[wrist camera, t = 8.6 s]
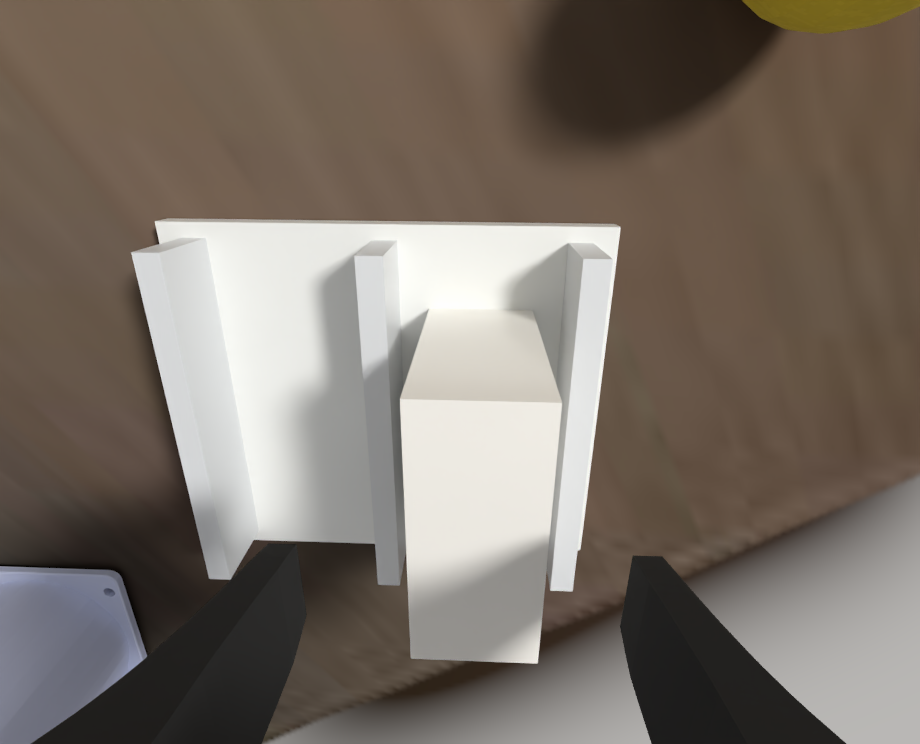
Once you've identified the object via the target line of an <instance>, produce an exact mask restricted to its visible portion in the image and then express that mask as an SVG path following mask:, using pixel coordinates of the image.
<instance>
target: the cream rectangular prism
mask: <svg viewBox="0 0 920 744" xmlns="http://www.w3.org/2000/svg"><path fill="white" fill-rule="evenodd" d="M561 411H562V400H561V397H560V394H559V391H558V388H557V385H556V382H555V379H554V376H553V372H552V369H551V366H550V363H549V360H548V357H547V354H546V351H545V347H544V344H543V341H542V338H541V335H540V332H539V329H538V326H537V322H536V319H535V316H534V313H533V310H490V309H433V308H429V311H428V314H427V317H426V320H425V323H424V326H423V329H422V333H421V336H420V339H419V342H418V345H417V348H416V351H415V354H414V357H413V360H412V363H411V366H410V369H409V372H408V376H407V379H406V382H405V385H404V388H403V391H402V394H401V397H400V415H401V439H402V462H403V486H404V509H405V533H406V556H407V579H408V603H409V626H410V650H411V659H435V660H461V661H487V662H513V663H514V662H515V663H538V654H539V644H540V633H541V623H542V612H543V602H544V591H545V580H546V570H547V559H548V549H549V538H550V527H551V517H552V506H553V496H554V485H555V474H556V464H557V453H558V443H559V432H560V421H561Z"/></svg>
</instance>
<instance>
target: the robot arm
mask: <svg viewBox="0 0 920 744" xmlns="http://www.w3.org/2000/svg"><path fill="white" fill-rule="evenodd" d="M305 618H306V608H305V601H304V594H303V587H302V580H301V573H300V566H299V559H298V552H297V545H296V544H268V545H266V546H265V547H264V548H263V549H262V550H261V551H260V552H259V553H258V554H257V555H256V556H255V557H254V558H253V559H252V560H251V561H250V562H249V563H248V564H247V565H246V566H245V567H244V568H243V569H242V570H241V571H240V572H239V573H238V574H236V575H235V576H234V577H233V578H232V579H231V580H230V581H229V582H228V583H227V584H226V585H225V586H224V587H223V588H222V589H221V590H220V591H219V592H218V593H217V594H216V595H215V596H214V597H213V598H212V599H211V600H210V601H209V602H207V603H206V604H205V605H204V606H203V607H202V608H201V609H200V610H199V611H198V612H197V613H196V614H195V615H194V616H193V617H191V618H190V619H189V620H188V621H187V622H186V623H185V624H184V625H183V626H182V627H181V628H180V629H178V630H177V631H176V632H175V633H174V634H173V635H171V636H170V637H169V638H168V639H167V640H166V641H165V642H163V643H162V644H161V645H160V646H159V647H158V648H157V649H155V650H154V651H153V652H152V653H151V654H150V655H149V656H147V654H146V651H145V648H144V645H143V642H142V638H141V635H140V632H139V629H138V626H137V623H136V620H135V617H134V614H133V611H132V608H131V605H130V602H129V599H128V595H127V592H126V589H125V586H124V583H123V580H122V578H121V576H120V575H119V574H118V573H117V572H115V571H112V570H95V569H66V568H36V567H7V566H0V744H261V743H262V741H263V738H264V736H265V733H266V731H267V728H268V726H269V723H270V721H271V718H272V716H273V713H274V711H275V708H276V706H277V703H278V701H279V698H280V696H281V693H282V691H283V688H284V686H285V683H286V681H287V678H288V676H289V673H290V670H291V668H292V665H293V662H294V659H295V655H296V652H297V648H298V645H299V641H300V637H301V634H302V630H303V626H304V622H305ZM620 628H621V633H622V638H623V643H624V648H625V653H626V658H627V663H628V668H629V672H630V676H631V680H632V683H633V687H634V690H635V693H636V696H637V699H638V703H639V706H640V709H641V712H642V715H643V718H644V721H645V724H646V728H647V730H648V734H649V737H650V740H651V743H652V744H846V743H845V742H844V741H842V740H841V739H840V738H839V737H838V736H837V735H836V734H835V733H833V732H832V731H831V730H830V729H829V728H828V727H827V726H825V725H824V724H823V723H822V722H821V721H820V720H818V719H817V718H816V717H815V716H814V715H813V714H812V713H811V712H809V711H808V710H807V709H806V708H805V707H804V706H803V705H802V704H801V703H799V701H797V700H796V699H795V698H794V697H793V696H792V695H791V694H790V693H789V692H788V691H787V690H786V689H785V688H784V687H783V686H782V685H781V684H780V683H779V682H778V681H777V680H775V679H774V678H773V677H772V676H771V675H770V674H769V673H768V672H767V671H766V670H765V669H764V668H763V667H762V666H761V665H760V664H759V663H758V662H757V661H756V660H755V659H754V658H753V657H752V656H751V654H749V653H748V651H747V650H746V649H745V648H744V647H743V646H742V645H741V644H740V643H739V642H738V641H737V640H736V639H735V638H734V637H733V635H732V634H731V633H729V631H728V630H727V629H726V628H725V627H724V626H723V625H722V624H721V623H720V622H719V620H718V619H717V618H716V617H715V616H714V615H713V614H712V613H711V612H710V611H709V609H708V608H707V607H706V606H705V605H704V604H703V603H702V601H701V600H700V599H699V598H698V597H697V596H696V595H695V594H694V592H693V591H692V590H691V589H690V588H689V587H688V585H687V584H686V583H685V582H684V581H683V580H682V579H681V577H680V576H679V575H678V574H677V573H676V572H675V571H674V569H673V568H672V567H671V566H670V565H669V564H668V563H667V561H666V560H665V559H664V558H663V557H658V556H633V558H632V564H631V569H630V575H629V580H628V586H627V591H626V597H625V602H624V608H623V614H622V619H621V625H620Z"/></svg>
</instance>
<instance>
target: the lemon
mask: <svg viewBox="0 0 920 744" xmlns="http://www.w3.org/2000/svg"><path fill="white" fill-rule="evenodd" d="M742 1H743V2H744V3H745V4H746V5H747V6H748V7H749V8H750V9H751V10H752V11H753V12H755V13H756V14H757V15H758V16H759V17H760V18H762V19H764V20H766V21H768V22H770V23H773V24H775V25H777V26H779V27H782V28H784V29H787V30H793V31H802V32H811V33H833V32H839V31H845V30H851V29H857V28H862V27H868V26H872V25H876V24H879V23H882V22H884V21H887V20H889V19H892V18H894V17H897V16H899V15H901V14H903V13H906V12H908V11H910V10H912V9H915V8H917V7H919V6H920V0H742Z"/></svg>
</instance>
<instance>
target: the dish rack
mask: <svg viewBox="0 0 920 744" xmlns="http://www.w3.org/2000/svg"><path fill="white" fill-rule="evenodd" d="M155 225H156V230H157V234H158V239H159V244H158V245H155V246H151V247H148V248H144V249H141V250H138V251H134V252H131V254H132V258H133V262H134V267H135V271H136V275H137V279H138V283H139V287H140V292H141V296H142V300H143V304H144V308H145V313H146V317H147V321H148V325H149V329H150V333H151V338H152V342H153V346H154V350H155V354H156V359H157V363H158V367H159V371H160V375H161V379H162V384H163V388H164V392H165V396H166V400H167V405H168V409H169V413H170V417H171V421H172V425H173V430H174V434H175V438H176V442H177V446H178V450H179V455H180V459H181V463H182V467H183V471H184V476H185V480H186V484H187V488H188V492H189V496H190V501H191V505H192V509H193V513H194V517H195V522H196V526H197V530H198V534H199V538H200V542H201V547H202V551H203V555H204V559H205V563H206V568H207V572H208V576H209V579H227V580H231V578H232V576H233V574H234V573H235V571H236V569H237V568H238V566H239V564H240V562H241V561H242V559H243V557H244V556H245V554H246V552H247V550H248V549H249V547H250V545H251V544H252V542H253V540H274V541H306V542H337V543H368V544H375V550H376V564H377V578H378V585H400V581H401V576H402V570H403V565H404V560H405V554H406V533H405V509H404V486H403V462H402V439H401V415H400V397H401V394H402V391H403V388H404V385H405V382H406V379H407V376H408V372H409V369H410V366H411V363H412V360H413V357H414V354H415V351H416V348H417V345H418V342H419V339H420V336H421V333H422V329H423V326H424V323H425V320H426V317H427V314H428V311H429V308H433V309H490V310H533V313H534V316H535V319H536V322H537V326H538V329H539V332H540V335H541V338H542V341H543V344H544V347H545V351H546V354H547V357H548V360H549V363H550V366H551V369H552V372H553V376H554V379H555V382H556V385H557V388H558V391H559V394H560V397H561V400H562V411H561V421H560V432H559V443H558V453H557V464H556V474H555V485H554V496H553V506H552V517H551V527H550V538H549V549H548V559H547V573H548V579H549V586H550V591H573V583H574V574H575V566H576V558H577V550H580V548H581V540H582V532H583V524H584V516H585V508H586V500H587V492H588V484H589V476H590V468H591V460H592V452H593V444H594V436H595V428H596V420H597V412H598V404H599V396H600V388H601V380H602V372H603V364H604V356H605V348H606V340H607V332H608V324H609V316H610V308H611V300H612V292H613V284H614V276H615V268H616V260H617V252H618V244H619V236H620V228H621V227H619V226H618V225H616V224H581V223H499V222H418V221H336V220H255V219H173V218H168V219H163V220H159V221H155Z"/></svg>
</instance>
